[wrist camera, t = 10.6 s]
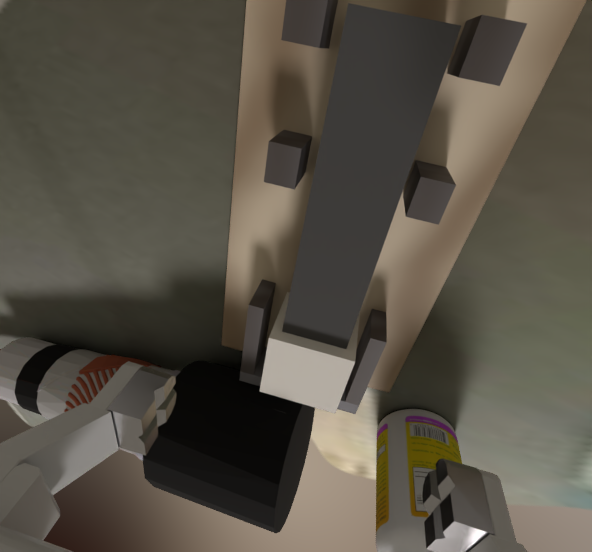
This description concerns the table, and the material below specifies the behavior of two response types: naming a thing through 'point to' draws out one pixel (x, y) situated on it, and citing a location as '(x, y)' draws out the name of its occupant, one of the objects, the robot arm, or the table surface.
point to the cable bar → (354, 195)
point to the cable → (183, 427)
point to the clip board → (420, 182)
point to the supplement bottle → (408, 475)
